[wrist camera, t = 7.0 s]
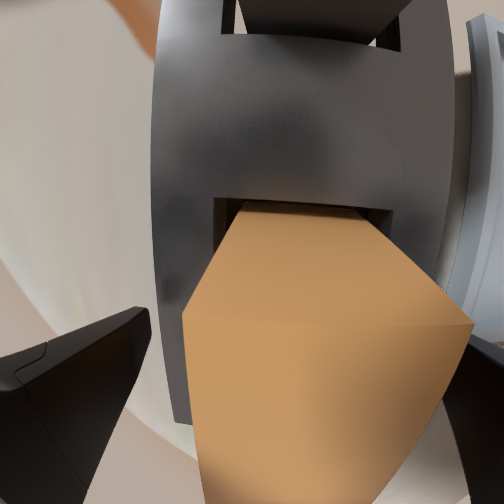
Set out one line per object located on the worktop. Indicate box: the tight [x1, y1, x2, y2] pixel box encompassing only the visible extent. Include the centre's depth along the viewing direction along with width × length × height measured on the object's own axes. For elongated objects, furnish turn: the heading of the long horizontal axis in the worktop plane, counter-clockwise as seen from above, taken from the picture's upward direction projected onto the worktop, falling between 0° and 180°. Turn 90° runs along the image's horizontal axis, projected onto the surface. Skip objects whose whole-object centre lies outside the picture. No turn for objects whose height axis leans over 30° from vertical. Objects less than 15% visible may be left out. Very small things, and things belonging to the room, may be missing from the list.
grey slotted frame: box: [151, 0, 455, 425], centre depth 9 cm, size 24×9×2 cm, turn 178°
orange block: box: [182, 201, 475, 504], centre depth 8 cm, size 6×4×8 cm, turn 177°
